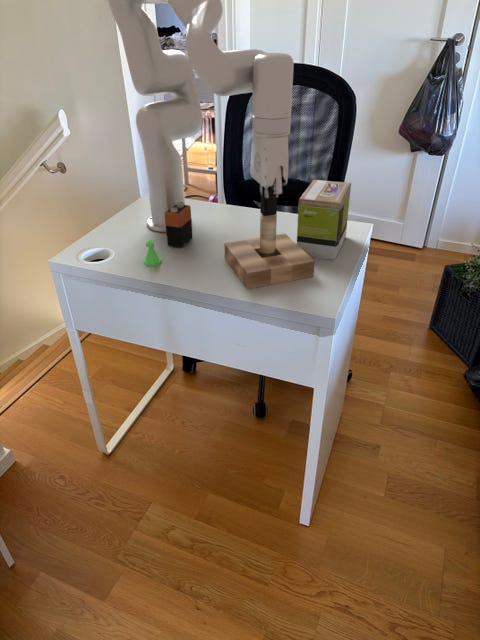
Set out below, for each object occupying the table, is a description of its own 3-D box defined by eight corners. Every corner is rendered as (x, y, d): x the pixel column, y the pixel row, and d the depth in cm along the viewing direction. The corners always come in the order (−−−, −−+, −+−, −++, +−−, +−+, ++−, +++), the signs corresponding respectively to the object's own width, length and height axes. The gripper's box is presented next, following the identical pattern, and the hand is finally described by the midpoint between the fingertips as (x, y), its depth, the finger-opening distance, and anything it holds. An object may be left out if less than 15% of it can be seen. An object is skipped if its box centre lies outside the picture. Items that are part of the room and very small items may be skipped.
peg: (256, 264, 110) (257, 212, 103) (271, 262, 111) (273, 210, 104) (262, 272, 107) (263, 218, 100) (277, 269, 108) (279, 216, 101)
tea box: (309, 232, 126) (313, 177, 118) (346, 237, 123) (353, 181, 115) (294, 255, 115) (298, 196, 106) (335, 261, 112) (342, 201, 103)
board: (224, 258, 113) (224, 243, 111) (284, 248, 118) (285, 233, 115) (247, 289, 101) (247, 273, 99) (313, 276, 105) (314, 261, 103)
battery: (193, 238, 123) (190, 201, 118) (182, 248, 118) (178, 211, 112) (178, 236, 125) (175, 199, 119) (166, 246, 119) (163, 208, 114)
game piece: (165, 260, 113) (162, 237, 109) (154, 268, 109) (151, 244, 106) (150, 257, 114) (147, 234, 111) (140, 264, 111) (136, 241, 108)
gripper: (240, 119, 96) (241, 204, 107) (268, 135, 85) (265, 229, 95) (274, 116, 98) (271, 200, 109) (305, 132, 87) (298, 224, 97)
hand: (268, 213), depth 102 cm, fingers closed
